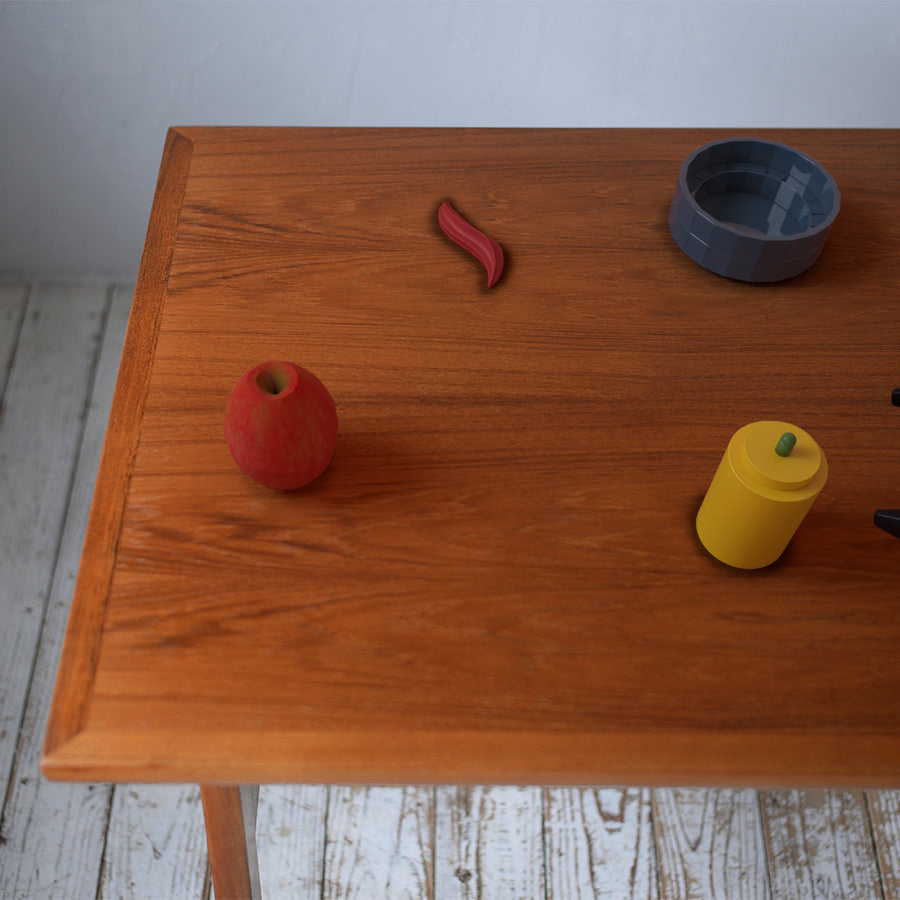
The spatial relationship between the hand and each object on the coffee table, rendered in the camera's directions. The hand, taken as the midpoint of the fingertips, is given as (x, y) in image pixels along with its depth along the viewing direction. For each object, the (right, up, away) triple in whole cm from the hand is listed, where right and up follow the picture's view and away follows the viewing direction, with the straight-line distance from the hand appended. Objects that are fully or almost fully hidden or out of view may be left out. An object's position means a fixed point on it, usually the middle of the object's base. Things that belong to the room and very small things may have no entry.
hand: (883, 454), depth 56 cm
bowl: (+3, +21, +35) cm, 41 cm away
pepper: (-3, -6, +16) cm, 17 cm away
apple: (-37, -1, +18) cm, 41 cm away
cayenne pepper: (-23, +19, +33) cm, 45 cm away
